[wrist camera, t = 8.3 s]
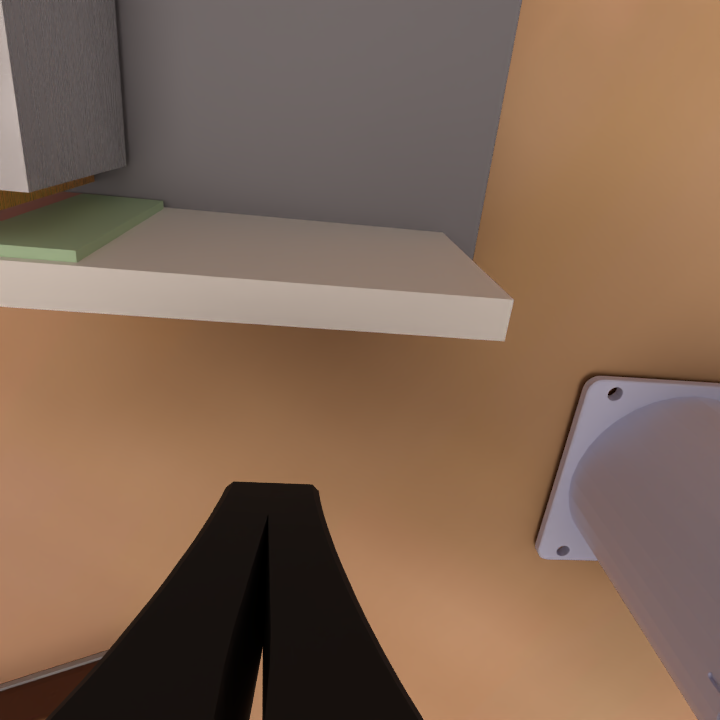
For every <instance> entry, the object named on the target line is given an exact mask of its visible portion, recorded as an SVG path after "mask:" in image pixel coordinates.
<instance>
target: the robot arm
mask: <svg viewBox="0 0 720 720" xmlns="http://www.w3.org/2000/svg"><path fill="white" fill-rule="evenodd" d="M616 387H617V390H616V391H615V393H613V394H612V395H608V393H609V391H610V390H611V389H613V388H616ZM561 546H563V547H562V548H559V547H561ZM535 548H536V550H537V552H538V554H539V556H540V557H541V558H543V559H554V560H596V561H599V563H600V565H601V566H602V568H603V569H604V571H605V573H606V574H607V576H608V577H609V579H610V580H611V582H612V584H613V585H614V587H615V588H616V590H617V592H618V593H619V595H620V596H621V598H622V600H623V601H624V603H625V604H626V606H627V608H628V609H629V611H630V612H631V614H632V615H633V617H634V619H635V620H636V622H637V623H638V625H639V627H640V628H641V630H642V631H643V633H644V635H645V636H646V638H647V639H648V641H649V643H650V644H651V646H652V647H653V649H654V651H655V652H656V654H657V655H658V657H659V658H660V660H661V662H662V663H663V665H664V666H665V668H666V670H667V671H668V673H669V674H670V676H671V678H672V679H673V681H674V682H675V684H676V686H677V687H678V689H679V690H680V692H681V693H682V695H683V697H684V698H685V700H686V701H687V703H688V705H689V706H690V708H691V709H692V711H693V713H694V714H695V716H696V717H697V719H698V720H720V383H710V382H694V381H678V380H662V379H646V378H630V377H614V376H595V377H593V378H591V379H589V380H588V381H587V382H586V383H585V385H584V387H583V389H582V392H581V396H580V399H579V402H578V406H577V409H576V412H575V415H574V419H573V422H572V425H571V429H570V432H569V435H568V438H567V442H566V445H565V448H564V452H563V455H562V458H561V461H560V465H559V468H558V471H557V475H556V478H555V481H554V485H553V488H552V491H551V494H550V498H549V501H548V504H547V508H546V511H545V514H544V517H543V521H542V524H541V527H540V531H539V534H538V537H537V540H536V544H535ZM558 548H559V549H558ZM262 648H263V716H262V720H423V718H422V716H421V715H420V713H419V711H418V710H417V708H416V707H415V705H414V703H413V702H412V700H411V698H410V697H409V695H408V694H407V692H406V690H405V689H404V687H403V685H402V683H401V682H400V680H399V678H398V676H397V675H396V673H395V671H394V669H393V668H392V666H391V664H390V662H389V660H388V659H387V657H386V655H385V653H384V651H383V649H382V648H381V646H380V644H379V642H378V640H377V638H376V636H375V634H374V632H373V630H372V628H371V627H370V625H369V623H368V621H367V619H366V617H365V615H364V613H363V610H362V608H361V606H360V604H359V602H358V600H357V598H356V596H355V594H354V591H353V589H352V587H351V584H350V582H349V580H348V578H347V575H346V573H345V571H344V569H343V566H342V564H341V562H340V559H339V557H338V554H337V552H336V549H335V547H334V544H333V541H332V538H331V535H330V533H329V530H328V527H327V524H326V521H325V517H324V514H323V510H322V506H321V502H320V497H319V491H318V490H317V489H316V488H315V487H314V486H313V485H310V484H283V483H257V482H233V483H231V484H230V485H229V486H227V487H226V489H225V490H224V492H223V494H222V496H221V498H220V500H219V502H218V503H217V505H216V507H215V508H214V510H213V512H212V513H211V515H210V517H209V518H208V520H207V521H206V523H205V525H204V526H203V528H202V529H201V531H200V532H199V534H198V535H197V537H196V538H195V540H194V541H193V543H192V544H191V545H190V547H189V548H188V550H187V551H186V552H185V554H184V555H183V556H182V558H181V559H180V561H179V562H178V563H177V565H176V566H175V567H174V569H173V570H172V572H171V573H170V574H169V576H168V577H167V578H166V580H165V581H164V583H163V584H162V585H161V587H160V588H159V589H158V590H157V592H156V593H155V594H154V596H153V597H152V598H151V599H150V601H149V602H148V603H147V604H146V605H145V607H144V608H143V609H142V610H141V612H140V613H139V614H138V615H137V616H136V618H135V619H134V620H133V621H132V623H131V624H130V625H129V626H128V627H127V629H126V630H125V631H124V632H123V634H122V635H121V636H120V637H119V638H118V640H117V641H116V642H115V643H114V645H113V646H112V647H111V648H110V649H109V650H108V651H107V653H106V654H105V655H104V656H103V657H102V658H101V659H100V661H99V662H98V663H97V664H96V665H95V666H94V667H93V669H92V670H91V671H90V672H89V673H88V674H87V675H86V676H85V677H84V679H83V680H82V681H81V682H80V683H79V684H78V685H77V686H76V687H75V688H74V690H73V691H72V692H71V693H70V694H69V695H68V696H67V697H66V698H65V699H64V700H63V701H62V702H61V703H60V704H59V706H58V707H57V708H56V709H55V710H54V711H53V712H52V713H51V714H50V715H49V716H48V717H47V718H46V719H45V720H249V719H250V713H251V708H252V703H253V697H254V692H255V686H256V681H257V675H258V670H259V665H260V659H261V654H262Z"/></svg>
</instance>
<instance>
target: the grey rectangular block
mask: <svg viewBox="0 0 720 720" xmlns="http://www.w3.org/2000/svg"><path fill="white" fill-rule="evenodd" d="M124 166H126V152H125V138H124V124H123V110H122V96H121V82H120V68H119V54H118V40H117V26H116V12H115V0H0V210H3V209H7V208H10V207H13V206H16V205H20V204H23V203H26V202H29V201H33V200H36V199H39V198H42V197H46V196H49V195H52V194H55V193H59V192H62V191H65V190H69V189H72V188H75V187H78V186H82V185H85V184H88V183H91V182H95V181H94V175H95V174H98V173H102V172H106V171H109V170H113V169H117V168H120V167H124Z"/></svg>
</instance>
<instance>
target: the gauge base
mask: <svg viewBox="0 0 720 720" xmlns="http://www.w3.org/2000/svg"><path fill="white" fill-rule="evenodd" d="M521 3H522V0H115V12H116V26H117V40H118V54H119V68H120V82H121V96H122V110H123V124H124V138H125V152H126V166H124V167H120V168H117V169H113V170H109V171H106V172H102V173H98V174H95V175H94V181H95V182H91V183H88V184H85V185H82V186H78V187H75V188H72V189H69V190H65V191H62V192H59V193H55V194H52V195H49V196H46V197H42V198H39V199H36V200H33V201H29V202H26V203H23V204H20V205H16V206H13V207H10V208H7V209H3V210H0V307H13V308H27V309H42V310H57V311H71V312H86V313H100V314H115V315H129V316H144V317H158V318H173V319H188V320H202V321H217V322H231V323H246V324H260V325H275V326H289V327H304V328H319V329H333V330H348V331H362V332H377V333H391V334H406V335H420V336H435V337H450V338H464V339H479V340H493V341H505V337H506V332H507V328H508V324H509V319H510V315H511V310H512V306H513V302H514V299H512V298H511V297H510V296H509V295H508V294H507V293H506V292H505V291H504V290H503V289H502V288H501V287H500V286H499V285H498V284H497V283H496V282H495V281H493V280H492V279H491V278H490V277H489V276H488V275H487V274H486V273H485V272H484V271H483V270H482V269H481V268H480V267H479V266H478V265H477V264H476V263H474V262H473V256H474V251H475V246H476V240H477V235H478V230H479V225H480V219H481V214H482V209H483V203H484V198H485V193H486V188H487V182H488V177H489V172H490V167H491V161H492V156H493V151H494V145H495V140H496V135H497V130H498V124H499V119H500V114H501V109H502V103H503V98H504V93H505V87H506V82H507V77H508V72H509V66H510V61H511V56H512V51H513V45H514V40H515V35H516V29H517V24H518V19H519V14H520V8H521Z"/></svg>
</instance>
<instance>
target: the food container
mask: <svg viewBox="0 0 720 720" xmlns="http://www.w3.org/2000/svg"><path fill="white" fill-rule="evenodd" d="M107 651H108V650H107ZM107 651H104V652H101V653H97V654H94V655H91V656H88V657H85V658H82V659H79V660H75V661H72V662H69V663H66V664H63V665H60V666H57V667H53V668H50V669H47V670H44V671H41V672H38V673H35V674H31V675H28V676H25V677H22V678H19V679H16V680H13V681H9V682H6V683H3V684H0V720H45V719H46V718H47V717H48V716H49V715H50V714H51V713H52V712H53V711H54V710H55V709H56V708H57V707H58V706H59V704H60V703H61V702H62V701H63V700H64V699H65V698H66V697H67V696H68V695H69V694H70V693H71V692H72V691H73V690H74V688H75V687H76V686H77V685H78V684H79V683H80V682H81V681H82V680H83V679H84V677H85V676H86V675H87V674H88V673H89V672H90V671H91V670H92V669H93V667H94V666H95V665H96V664H97V663H98V662H99V661H100V659H101V658H102V657H103V656H104V655H105V654H106V653H107Z"/></svg>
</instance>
